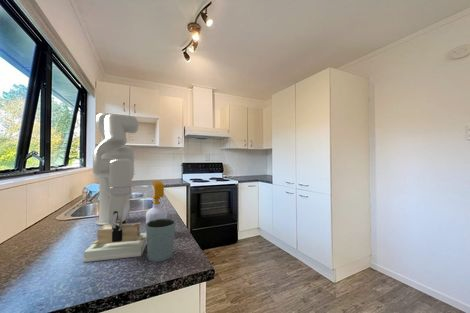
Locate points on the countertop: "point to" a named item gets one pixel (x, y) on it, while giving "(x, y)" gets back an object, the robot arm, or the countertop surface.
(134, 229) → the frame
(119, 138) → the robot arm
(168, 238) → the teal embossed pot
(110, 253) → the cream rectangular tray
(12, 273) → the countertop surface
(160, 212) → the soap bottle
